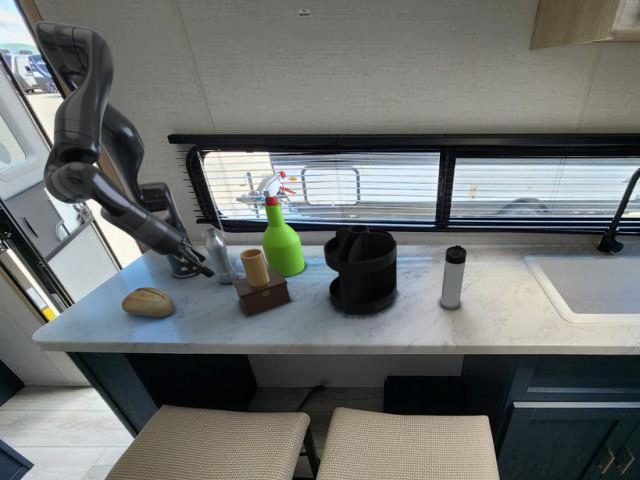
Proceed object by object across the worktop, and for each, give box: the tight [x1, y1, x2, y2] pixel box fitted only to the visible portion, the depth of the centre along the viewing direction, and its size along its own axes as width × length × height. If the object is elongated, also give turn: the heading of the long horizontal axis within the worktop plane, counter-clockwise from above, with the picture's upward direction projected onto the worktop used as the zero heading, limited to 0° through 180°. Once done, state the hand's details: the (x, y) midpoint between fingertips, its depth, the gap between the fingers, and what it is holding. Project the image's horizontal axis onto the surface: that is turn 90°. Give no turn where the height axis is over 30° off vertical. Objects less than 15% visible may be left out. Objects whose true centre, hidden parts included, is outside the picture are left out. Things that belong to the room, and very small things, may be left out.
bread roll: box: [121, 286, 175, 318], centre depth 98 cm, size 10×15×8 cm, turn 86°
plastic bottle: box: [203, 227, 238, 284], centre depth 110 cm, size 6×7×20 cm
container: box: [323, 224, 398, 316], centre depth 101 cm, size 22×23×25 cm
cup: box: [239, 248, 270, 287], centre depth 98 cm, size 6×6×10 cm
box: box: [231, 268, 291, 317], centre depth 103 cm, size 11×14×8 cm
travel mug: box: [440, 244, 468, 310], centre depth 100 cm, size 6×7×20 cm
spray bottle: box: [255, 170, 306, 278], centre depth 116 cm, size 14×18×35 cm
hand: (207, 267), depth 92 cm, fingers open, 8 cm apart
